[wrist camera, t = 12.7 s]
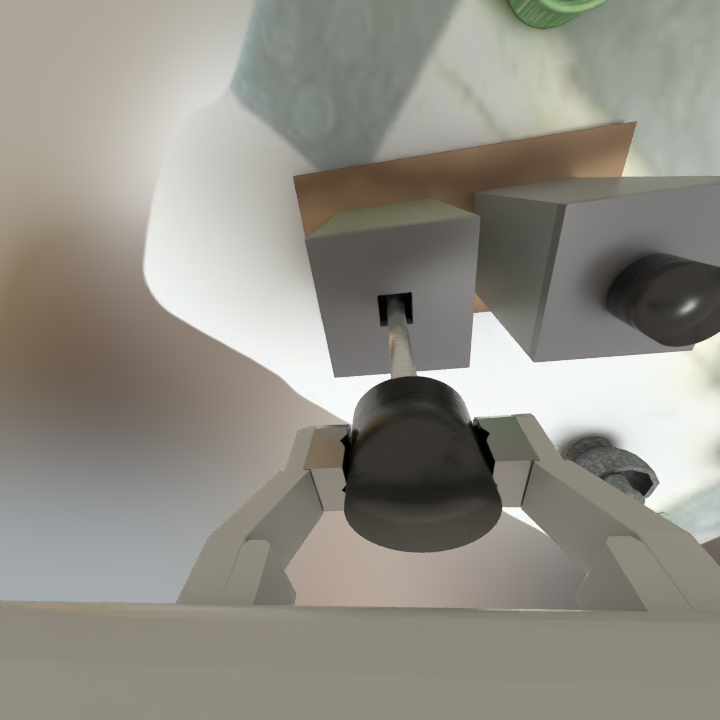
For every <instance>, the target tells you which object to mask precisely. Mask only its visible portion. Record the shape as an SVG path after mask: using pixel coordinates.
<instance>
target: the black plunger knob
mask: <svg viewBox="0 0 720 720" xmlns="http://www.w3.org/2000/svg"><path fill="white" fill-rule="evenodd" d="M378 304H379V313H380V322H381V321H388V333H389V350H390V366H391V379H390V380H387V381H384V382H382V383H380V384H378V385H376V386H375V387H373V388H372V389H370V390H369V391H368V392H367V393H366V394H365V395H364V396H363V397H362V398H361V399H360V401H359V402H358V404H357V406H356V409H355V412H354V418H353V427H352V436H351V446H350V455H349V464H348V473H347V483H346V492H345V501H344V513H345V517H346V519H347V521H348V523H349V524H350V526H351V527H352V528H353V529H354V531H356V532H357V533H358V534H359V535H360V536H362V537H363V538H365V539H367V540H369V541H371V542H373V543H375V544H377V545H380V546H383V547H386V548H389V549H394V550H399V551H405V552H421V553H422V552H423V553H424V552H438V551H445V550H450V549H454V548H458V547H461V546H464V545H467V544H469V543H471V542H474V541H476V540H477V539H479V538H481V537H482V536H484V535H485V534H487V533H488V532H489V531H490V530H491V529H492V528H493V527H494V526H495V525H496V523H497V522H498V520H499V518H500V515H501V512H502V500H501V497H500V494H499V492H498V489H497V487H496V484H495V481H494V479H493V476H492V473H491V471H490V468H489V466H488V463H487V460H486V458H485V455H484V452H483V450H482V447H481V445H480V442H479V439H478V437H477V434H476V431H475V429H474V426H473V424H472V421H471V418H470V416H469V413H468V410H467V408H466V405H465V403H464V401H463V399H462V398H461V396H460V395H459V394H458V393H457V392H456V391H455V390H454V389H453V388H451V387H450V386H448V385H447V384H445V383H443V382H440V381H438V380H435V379H432V378H427V377H420V376H417V374H416V369H415V363H414V358H413V353H412V348H411V342H410V337H409V332H408V327H407V321H406V319H412V306H411V292H407V293H398V294H388V295H379V296H378Z"/></svg>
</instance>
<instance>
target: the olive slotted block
mask: <svg viewBox="0 0 720 720" xmlns="http://www.w3.org/2000/svg"><path fill="white" fill-rule="evenodd" d="M479 230H480V216H479V215H476V214H473V213H471V212H468V211H465V210H463V209H460V208H457V207H454V206H452V205H449V204H446V203H444V202H441V201H438V200H435V199H433V198H427V199H420V200H413V201H406V202H399V203H392V204H385V205H378V206H371V207H364V208H358V209H351V210H344V211H339V212H338V213H337V214H336V215H334V216H333V217H332V218H331V219H330V220H328V221H327V222H326V223H325V224H323V225H322V226H321V227H320V228H319V229H317V230H316V231H315V232H314V233H312V234H311V235H310V236H309V237H308V238H306V239H305V242H306V247H307V251H308V256H309V261H310V265H311V270H312V275H313V279H314V284H315V289H316V293H317V298H318V303H319V307H320V312H321V317H322V321H323V326H324V330H325V335H326V340H327V344H328V349H329V354H330V358H331V363H332V368H333V372H334V377H335V378H336V377H349V376H362V375H375V374H388V373H391V366H390V350H389V333H388V321H381V322H380V313H379V304H378V296H379V295H388V294H398V293H407V292H411V306H412V319H406V321H407V327H408V332H409V337H410V342H411V348H412V353H413V358H414V363H415V369H416V371H428V370H441V369H454V368H467V367H469V364H470V351H471V337H472V324H473V310H474V297H475V283H476V270H477V257H478V243H479Z"/></svg>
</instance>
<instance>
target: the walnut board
mask: <svg viewBox="0 0 720 720" xmlns="http://www.w3.org/2000/svg"><path fill="white" fill-rule="evenodd" d="M636 123H637V121H635V122H629V123H623V124H617V125H610V126H604V127H598V128H592V129H585V130H579V131H573V132H567V133H561V134H554V135H548V136H542V137H536V138H529V139H523V140H517V141H511V142H504V143H498V144H492V145H486V146H479V147H473V148H467V149H461V150H454V151H448V152H442V153H436V154H430V155H423V156H417V157H411V158H405V159H398V160H392V161H386V162H380V163H373V164H367V165H361V166H355V167H348V168H342V169H336V170H330V171H324V172H317V173H311V174H305V175H299V176H293V179H294V184H295V188H296V193H297V198H298V202H299V207H300V212H301V217H302V221H303V226H304V231H305V235H306V238H308V237H309V236H310V235H311V234H312V233H314V232H315V231H316V230H317V229H319V228H320V227H321V226H322V225H323V224H325V223H326V222H327V221H328V220H330V219H331V218H332V217H333V216H334V215H336V214H337V213H338V212H339V211H344V210H351V209H358V208H364V207H371V206H378V205H385V204H392V203H399V202H406V201H413V200H420V199H427V198H433V199H435V200H438V201H441V202H444V203H446V204H449V205H452V206H454V207H457V208H460V209H463V210H465V211H468V212H471V213H473V198H474V192H476V191H483V190H490V189H497V188H504V187H511V186H518V185H525V184H532V183H539V182H546V181H553V180H560V179H567V178H574V177H621V176H622V172H623V169H624V165H625V162H626V158H627V155H628V151H629V148H630V144H631V140H632V137H633V133H634V130H635V126H636ZM488 311H490V310H489V308H488V307H487V306H486V305H485V304H484V303H483V301H482V300H481V299H480V298H479V297H478V295H477V294H476V293H475V297H474V310H473V313H478V312H488Z"/></svg>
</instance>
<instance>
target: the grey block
mask: <svg viewBox="0 0 720 720" xmlns="http://www.w3.org/2000/svg"><path fill="white" fill-rule="evenodd" d="M473 214H476V215H479V216H480V230H479V243H478V257H477V270H476V283H475V293H476V294H477V295H478V297H479V298H480V299H481V300H482V301H483V303H484V304H485V305H486V306H487V307H488V308H489V310H490V311H491V312H492V313H493V314H494V316H495V317H496V318H497V319H498V320H499V322H500V323H501V324H502V325H503V326H504V327H505V329H506V330H507V331H508V332H509V333H510V335H511V336H512V337H513V338H514V339H515V341H516V342H517V343H518V344H519V345H520V346H521V348H522V349H523V350H524V351H525V352H526V354H527V355H528V356H529V357H530V358H531V360H532V361H533V362H546V361H559V360H572V359H585V358H598V357H611V356H624V355H637V354H650V353H663V352H677V351H690V350H692V349H693V347H694V345H695V344H692V345H688V346H682V347H669V346H665V345H662V344H660V343H658V342H656V341H654V340H653V339H651V338H649V337H648V336H646V335H644V334H643V333H641V332H639V331H637V330H636V329H634V328H632V327H631V326H629V325H627V324H626V323H624V322H622V321H620V320H619V319H617V318H615V317H614V316H612V315H611V314H610V312H609V311H608V309H607V306H606V296H607V292H608V290H609V288H610V286H611V284H612V282H613V281H614V279H615V278H616V277H617V276H618V275H619V274H620V273H621V272H622V269H625V268H626V267H628V266H629V265H630V264H632V263H634V262H635V261H637V260H639V259H641V258H644V257H646V256H649V255H653V254H662V253H664V254H671V255H675V256H679V257H683V258H687V259H691V260H694V261H698V262H702V263H706V264H710V265H714V266H718V267H720V176H670V177H574V178H567V179H560V180H553V181H546V182H539V183H532V184H525V185H518V186H511V187H504V188H497V189H490V190H483V191H476V192H474V198H473Z"/></svg>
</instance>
